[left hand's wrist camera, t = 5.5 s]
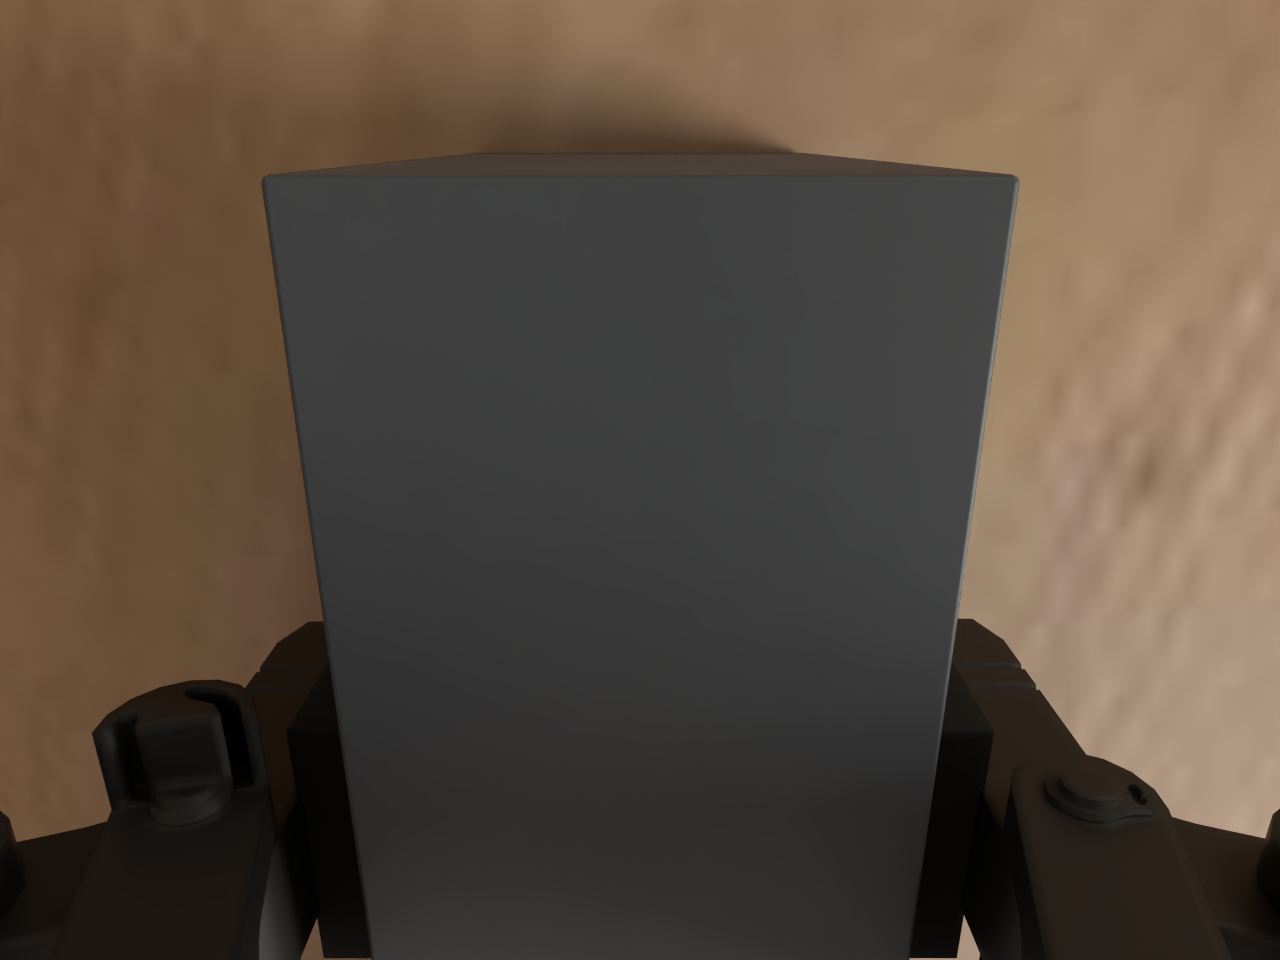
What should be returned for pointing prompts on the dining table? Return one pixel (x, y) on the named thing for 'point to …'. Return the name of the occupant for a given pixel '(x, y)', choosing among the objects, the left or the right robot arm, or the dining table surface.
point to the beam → (640, 536)
